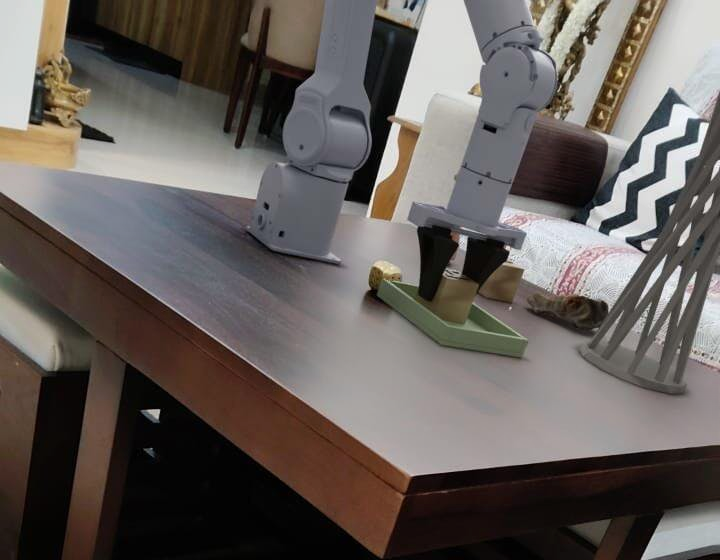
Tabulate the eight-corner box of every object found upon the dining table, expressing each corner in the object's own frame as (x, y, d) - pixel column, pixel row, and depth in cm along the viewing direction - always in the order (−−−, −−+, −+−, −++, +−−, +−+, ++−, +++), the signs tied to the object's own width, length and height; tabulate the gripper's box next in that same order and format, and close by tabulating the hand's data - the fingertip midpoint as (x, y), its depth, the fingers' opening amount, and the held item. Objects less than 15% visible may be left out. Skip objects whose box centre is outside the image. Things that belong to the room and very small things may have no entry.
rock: (607, 335, 134) (552, 292, 137) (628, 297, 130) (571, 255, 133) (572, 352, 129) (516, 307, 132) (593, 314, 125) (534, 269, 127)
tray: (441, 345, 102) (447, 326, 101) (376, 295, 112) (381, 277, 111) (521, 357, 108) (529, 340, 107) (454, 309, 118) (459, 293, 117)
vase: (571, 337, 125) (703, 27, 107) (667, 369, 127) (813, 70, 109) (590, 369, 114) (741, 28, 96) (695, 404, 116) (863, 76, 98)
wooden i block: (486, 297, 130) (499, 262, 127) (467, 285, 133) (480, 251, 130) (512, 302, 132) (525, 268, 130) (493, 290, 135) (506, 257, 133)
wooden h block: (432, 318, 109) (447, 277, 106) (412, 303, 112) (426, 262, 109) (464, 324, 111) (479, 283, 109) (444, 309, 114) (458, 269, 112)
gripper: (452, 169, 97) (407, 305, 104) (559, 199, 105) (511, 323, 112) (416, 150, 102) (376, 281, 109) (521, 181, 110) (477, 301, 117)
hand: (442, 301), depth 111 cm, fingers closed on wooden h block, 4 cm apart
